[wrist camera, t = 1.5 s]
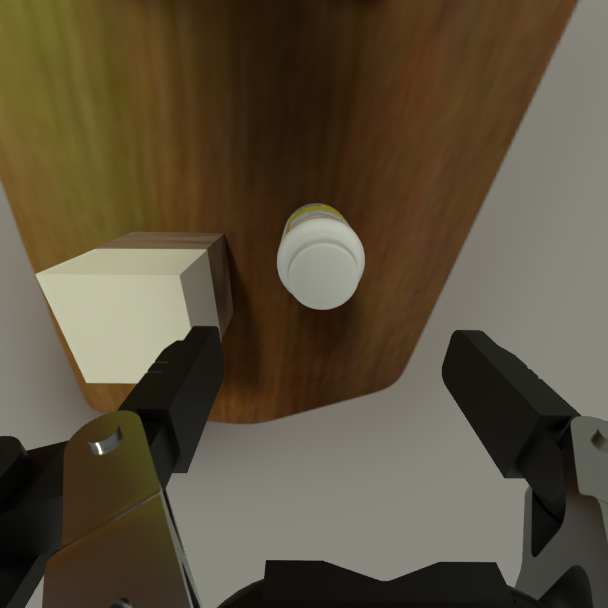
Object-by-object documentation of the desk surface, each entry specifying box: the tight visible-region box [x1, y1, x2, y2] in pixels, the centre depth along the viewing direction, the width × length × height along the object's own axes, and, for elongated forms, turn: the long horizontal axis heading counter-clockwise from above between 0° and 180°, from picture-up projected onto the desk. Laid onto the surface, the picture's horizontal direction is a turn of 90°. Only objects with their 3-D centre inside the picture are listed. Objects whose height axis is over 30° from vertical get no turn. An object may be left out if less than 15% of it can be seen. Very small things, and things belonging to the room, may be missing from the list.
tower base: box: [95, 232, 234, 339], centre depth 24 cm, size 8×8×5 cm
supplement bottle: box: [277, 203, 365, 310], centre depth 20 cm, size 6×6×10 cm
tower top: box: [35, 249, 222, 383], centre depth 19 cm, size 8×8×5 cm
